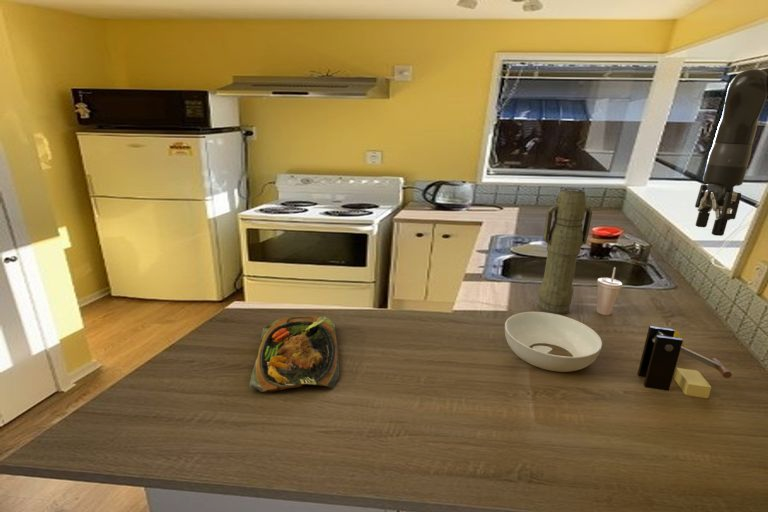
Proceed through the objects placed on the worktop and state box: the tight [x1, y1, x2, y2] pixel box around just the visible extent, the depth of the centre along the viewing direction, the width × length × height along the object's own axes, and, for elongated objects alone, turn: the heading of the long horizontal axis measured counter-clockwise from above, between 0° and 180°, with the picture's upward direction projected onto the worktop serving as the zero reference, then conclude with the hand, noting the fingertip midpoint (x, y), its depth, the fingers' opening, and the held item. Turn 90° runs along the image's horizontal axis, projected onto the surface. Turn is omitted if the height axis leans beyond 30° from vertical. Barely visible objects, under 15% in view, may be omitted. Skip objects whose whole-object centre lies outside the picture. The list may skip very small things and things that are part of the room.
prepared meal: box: [248, 316, 340, 393], centre depth 97 cm, size 28×4×18 cm
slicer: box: [637, 325, 684, 392], centre depth 87 cm, size 8×9×13 cm
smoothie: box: [596, 266, 623, 316], centre depth 121 cm, size 6×6×14 cm
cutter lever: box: [652, 331, 732, 379], centre depth 85 cm, size 14×5×2 cm, turn 75°
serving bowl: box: [504, 311, 603, 373], centre depth 98 cm, size 21×21×7 cm
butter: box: [673, 367, 712, 399], centre depth 87 cm, size 6×9×4 cm, turn 166°
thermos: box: [537, 187, 593, 315], centre depth 120 cm, size 9×12×35 cm
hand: (708, 230), depth 104 cm, fingers open, 8 cm apart
